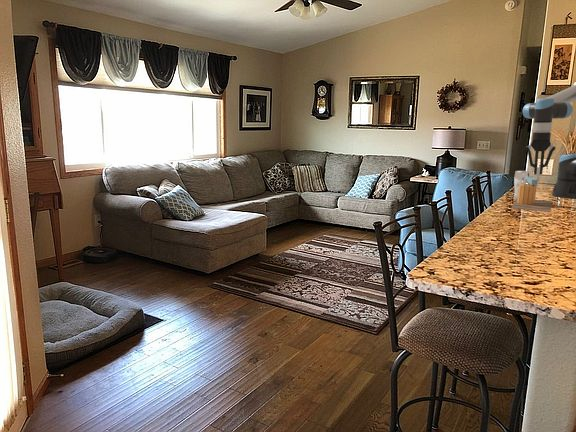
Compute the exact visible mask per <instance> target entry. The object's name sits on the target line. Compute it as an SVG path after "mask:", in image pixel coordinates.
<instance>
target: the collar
mask: <svg viewBox="0 0 576 432" xmlns="http://www.w3.org/2000/svg"><path fill="white" fill-rule="evenodd" d="M537 186H538V184H537V185H531V184H519V188H518V198H517V203H519V204H528V205H531V204H535V200H536V194H537Z"/></svg>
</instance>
